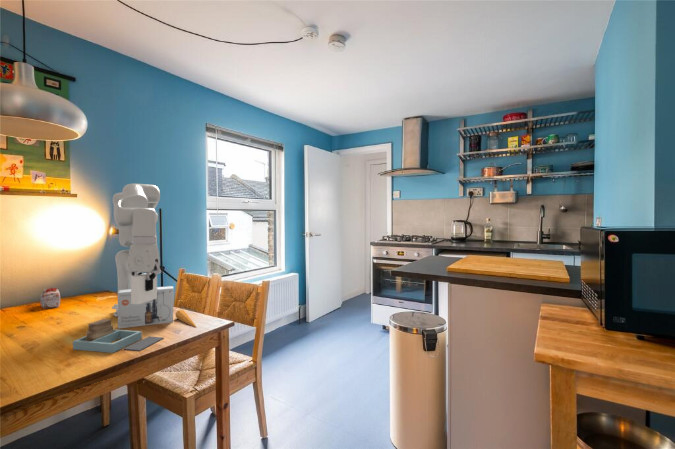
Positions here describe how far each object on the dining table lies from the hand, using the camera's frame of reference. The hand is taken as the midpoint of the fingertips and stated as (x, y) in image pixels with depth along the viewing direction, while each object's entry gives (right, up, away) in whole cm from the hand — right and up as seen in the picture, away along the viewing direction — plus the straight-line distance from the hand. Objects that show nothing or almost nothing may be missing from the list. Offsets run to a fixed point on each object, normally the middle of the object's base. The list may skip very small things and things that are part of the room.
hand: (144, 289), depth 118 cm
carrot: (+4, -21, +25) cm, 33 cm away
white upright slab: (0, -4, 0) cm, 4 cm away
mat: (0, -21, 0) cm, 21 cm away
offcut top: (-17, -15, +1) cm, 23 cm away
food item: (-80, -20, +50) cm, 96 cm away
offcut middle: (-17, -18, +1) cm, 25 cm away
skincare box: (-13, -20, +23) cm, 33 cm away
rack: (-14, -20, 0) cm, 25 cm away
